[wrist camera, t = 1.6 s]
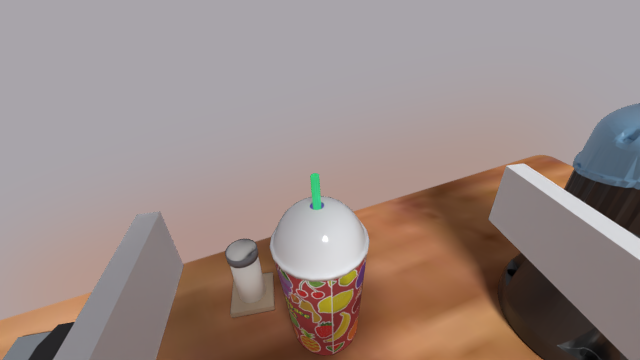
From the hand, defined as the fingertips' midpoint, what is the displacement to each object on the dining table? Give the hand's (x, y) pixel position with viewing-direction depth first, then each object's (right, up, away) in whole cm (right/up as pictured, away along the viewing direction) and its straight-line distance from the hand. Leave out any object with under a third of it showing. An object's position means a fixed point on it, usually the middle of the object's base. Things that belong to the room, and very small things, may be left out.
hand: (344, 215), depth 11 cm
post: (-9, -13, +25) cm, 30 cm away
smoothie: (0, -15, +21) cm, 26 cm away
